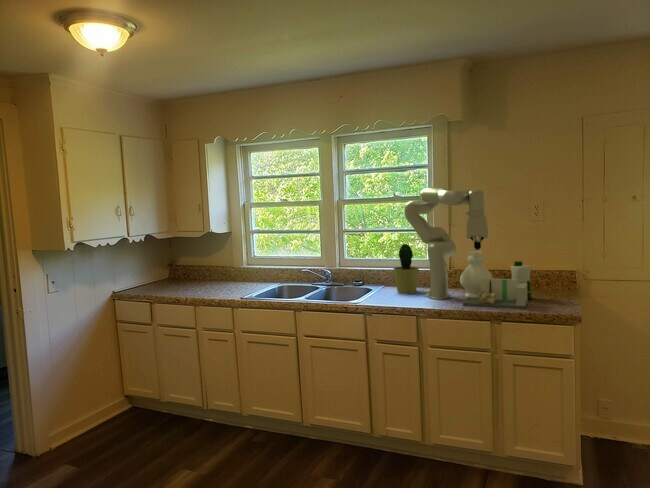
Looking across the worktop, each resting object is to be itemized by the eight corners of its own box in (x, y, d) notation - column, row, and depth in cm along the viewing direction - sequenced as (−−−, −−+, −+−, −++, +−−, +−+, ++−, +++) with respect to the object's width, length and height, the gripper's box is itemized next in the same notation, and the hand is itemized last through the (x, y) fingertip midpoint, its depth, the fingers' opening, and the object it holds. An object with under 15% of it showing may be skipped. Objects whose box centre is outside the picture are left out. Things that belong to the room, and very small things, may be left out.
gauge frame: (463, 305, 256) (462, 282, 255) (468, 300, 267) (467, 277, 266) (524, 309, 242) (524, 284, 241) (527, 303, 254) (527, 279, 252)
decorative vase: (500, 296, 273) (499, 252, 271) (474, 300, 267) (473, 254, 265) (479, 291, 290) (478, 249, 288) (454, 295, 283) (452, 252, 281)
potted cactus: (389, 291, 305) (387, 243, 302) (412, 288, 309) (410, 241, 306) (400, 295, 290) (399, 245, 287) (424, 292, 295) (422, 243, 292)
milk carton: (522, 296, 270) (522, 260, 268) (533, 299, 261) (533, 262, 260) (509, 298, 268) (508, 261, 266) (519, 301, 259) (519, 263, 257)
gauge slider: (479, 302, 254) (478, 284, 253) (482, 298, 262) (482, 281, 261) (493, 303, 250) (493, 285, 249) (496, 299, 259) (496, 281, 258)
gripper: (460, 215, 253) (461, 250, 255) (490, 214, 246) (491, 250, 248) (463, 214, 260) (464, 248, 261) (493, 213, 253) (493, 248, 254)
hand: (477, 249), depth 254 cm, fingers closed
